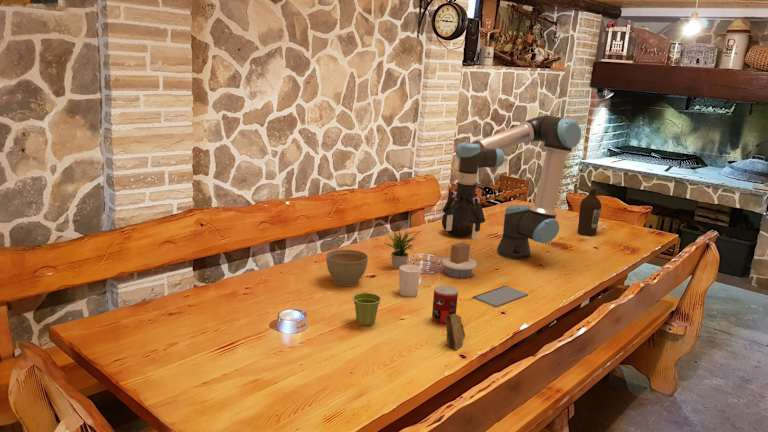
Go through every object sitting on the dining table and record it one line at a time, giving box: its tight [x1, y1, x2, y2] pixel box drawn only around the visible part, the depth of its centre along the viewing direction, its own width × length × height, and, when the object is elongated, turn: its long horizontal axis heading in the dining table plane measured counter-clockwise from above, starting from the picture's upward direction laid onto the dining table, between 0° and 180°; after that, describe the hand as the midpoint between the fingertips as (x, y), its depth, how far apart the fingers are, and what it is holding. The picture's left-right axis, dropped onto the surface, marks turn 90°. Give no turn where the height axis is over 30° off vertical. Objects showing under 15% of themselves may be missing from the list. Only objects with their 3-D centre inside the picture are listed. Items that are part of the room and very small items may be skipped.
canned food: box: [431, 285, 459, 325], centre depth 210 cm, size 8×8×11 cm
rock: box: [445, 313, 466, 352], centre depth 195 cm, size 11×9×10 cm
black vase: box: [441, 205, 475, 238], centre depth 309 cm, size 18×18×28 cm
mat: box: [471, 285, 529, 308], centre depth 238 cm, size 20×20×1 cm
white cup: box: [398, 264, 422, 298], centre depth 232 cm, size 8×8×10 cm
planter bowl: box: [325, 249, 369, 287], centre depth 239 cm, size 16×16×11 cm
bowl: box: [444, 266, 474, 279], centre depth 254 cm, size 11×11×5 cm
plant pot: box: [352, 292, 382, 327], centre depth 205 cm, size 9×9×9 cm
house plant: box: [385, 230, 418, 269], centre depth 256 cm, size 14×14×16 cm
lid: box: [441, 242, 478, 270], centre depth 253 cm, size 14×14×8 cm
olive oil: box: [577, 186, 602, 237], centre depth 326 cm, size 11×11×25 cm
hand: (461, 234), depth 250 cm, fingers open, 13 cm apart
